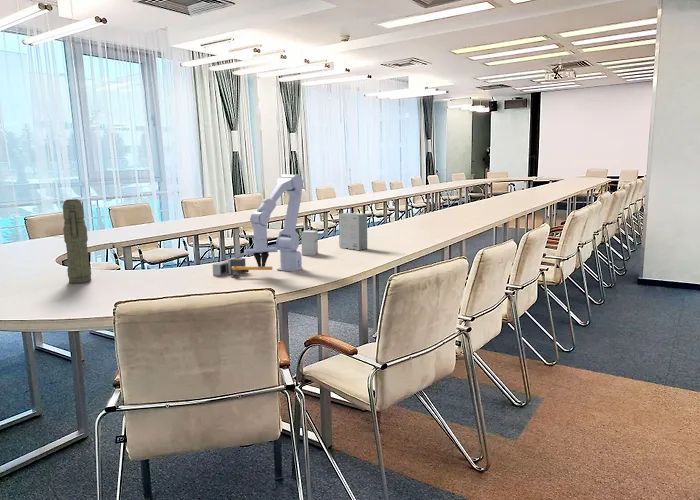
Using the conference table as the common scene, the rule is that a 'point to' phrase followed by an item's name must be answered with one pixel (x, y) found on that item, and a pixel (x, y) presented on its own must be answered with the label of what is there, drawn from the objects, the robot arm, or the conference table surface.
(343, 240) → the hard drive box
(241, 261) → the plug
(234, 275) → the lever handle base
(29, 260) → the conference table surface
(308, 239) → the supplement box
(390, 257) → the conference table surface
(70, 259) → the carved stone statue
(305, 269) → the conference table surface
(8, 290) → the conference table surface
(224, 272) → the socket
